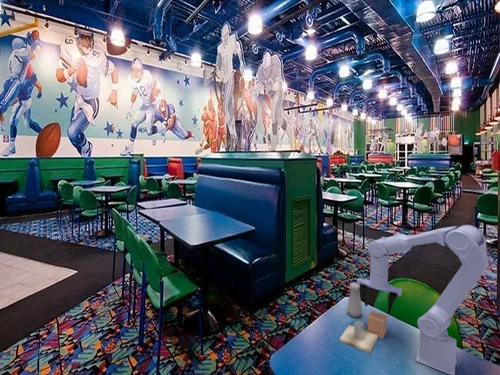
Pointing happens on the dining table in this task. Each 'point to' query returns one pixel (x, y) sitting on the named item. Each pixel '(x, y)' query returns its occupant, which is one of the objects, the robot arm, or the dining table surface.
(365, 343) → the birch board
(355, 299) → the salt shaker
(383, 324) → the orange tan block
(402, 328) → the dining table surface
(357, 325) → the steel post
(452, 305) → the robot arm
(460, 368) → the dining table surface
